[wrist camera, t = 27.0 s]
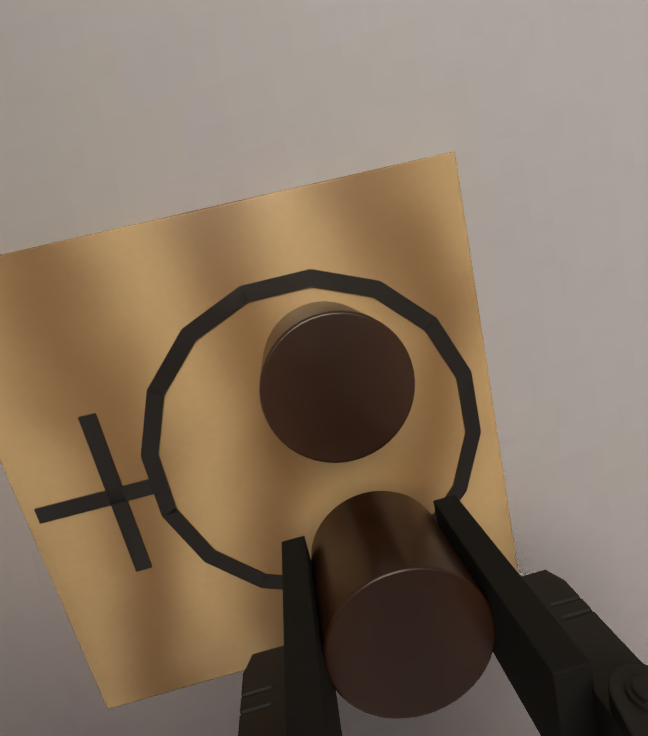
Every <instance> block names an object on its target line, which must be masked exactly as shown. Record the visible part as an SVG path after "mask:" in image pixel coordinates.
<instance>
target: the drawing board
mask: <svg viewBox="0 0 648 736" xmlns="http://www.w3.org/2000/svg"><path fill="white" fill-rule="evenodd" d="M321 301H328V302H336V303H340V304H344V305H346V306H349V307H351V308H353V309H355V310H358V311H360V312H362V313H364V314H366V315H368V316H371V317H373V318H374V319H376V320H378V321H380V322H382V323H383V324H384V325H386V326H387V327H388V328H390V329H391V330H392V331H393V332H394V333H395V334H396V335H397V336H398V338H399V339H400V340H401V341H402V343H403V344H404V346H405V348H406V350H407V351H408V354H409V356H410V358H411V361H412V365H413V369H414V375H415V393H414V400H413V403H412V407H411V410H410V412H409V415H408V417H407V419H406V421H405V423H404V424H403V426H402V428H401V429H400V430H399V432H398V433H397V434H396V435H395V436H394V437H393V438H392V439H391V440H390V442H388V443H387V444H386V445H385V446H383V447H382V448H381V449H379V450H377V451H376V452H374V453H372V454H370V455H368V456H366V457H364V458H361V459H358V460H354V461H349V462H341V463H327V462H321V461H315V460H312V459H309V458H306V457H304V456H302V455H299V454H297V453H296V452H294V451H293V450H291V449H289V448H288V447H287V446H286V445H285V444H283V443H282V442H281V441H280V440H279V439H278V438H277V436H276V435H275V434H274V433H273V431H272V430H271V428H270V427H269V425H268V423H267V421H266V419H265V417H264V414H263V411H262V407H261V403H260V395H259V384H260V374H261V367H262V359H263V353H264V348H265V344H266V342H267V339H268V337H269V335H270V333H271V331H272V330H273V328H274V327H275V325H276V324H277V323H278V322H279V321H280V320H281V319H282V318H283V317H284V316H285V315H286V314H288V313H289V312H291V311H292V310H294V309H296V308H298V307H300V306H302V305H305V304H308V303H313V302H321ZM0 461H1V463H2V466H3V468H4V470H5V472H6V475H7V477H8V479H9V482H10V484H11V486H12V489H13V491H14V493H15V496H16V498H17V500H18V503H19V505H20V507H21V510H22V512H23V514H24V516H25V519H26V521H27V523H28V526H29V528H30V530H31V533H32V535H33V537H34V540H35V542H36V544H37V547H38V549H39V551H40V553H41V556H42V558H43V560H44V563H45V565H46V567H47V570H48V572H49V574H50V577H51V579H52V581H53V584H54V586H55V588H56V591H57V593H58V595H59V597H60V600H61V602H62V604H63V607H64V609H65V611H66V614H67V616H68V618H69V621H70V623H71V625H72V628H73V630H74V632H75V635H76V637H77V639H78V641H79V644H80V646H81V648H82V651H83V653H84V655H85V658H86V660H87V662H88V665H89V667H90V669H91V672H92V674H93V676H94V678H95V681H96V683H97V685H98V688H99V690H100V692H101V695H102V697H103V699H104V702H105V704H106V706H107V708H108V709H110V708H114V707H117V706H121V705H124V704H128V703H131V702H135V701H138V700H142V699H145V698H149V697H152V696H156V695H159V694H163V693H166V692H170V691H173V690H177V689H180V688H184V687H187V686H191V685H194V684H198V683H201V682H205V681H208V680H212V679H215V678H218V677H222V676H225V675H229V674H232V673H236V672H239V671H243V670H245V669H246V667H247V665H248V663H249V661H250V658H251V656H252V654H255V653H259V652H262V651H266V650H269V649H273V648H276V647H280V646H283V645H284V629H283V586H282V542H283V541H286V540H290V539H294V538H297V537H301V536H305V540H306V544H307V547H308V551H309V555H310V558H311V549H312V543H313V539H314V537H315V534H316V532H317V530H318V528H319V526H320V524H321V523H322V521H323V520H324V519H325V517H326V516H327V515H328V514H329V513H330V512H331V511H332V510H333V509H334V508H335V507H337V506H338V505H339V504H341V503H342V502H344V501H345V500H347V499H349V498H351V497H353V496H356V495H359V494H362V493H366V492H371V491H392V492H398V493H401V494H404V495H407V496H409V497H411V498H413V499H415V500H416V501H418V502H420V503H421V504H422V505H423V506H424V507H425V508H426V509H427V510H428V511H429V512H430V513H431V514H432V516H433V518H434V519H435V521H436V522H437V518H436V513H435V508H434V503H433V501H434V500H438V499H441V498H445V497H449V496H452V495H456V497H457V498H458V499H459V500H460V501H461V503H462V504H463V505H464V506H465V508H466V509H467V510H468V511H469V513H470V514H471V515H472V516H473V518H474V519H475V520H476V521H477V523H478V524H479V525H480V526H481V527H482V529H483V530H484V531H485V532H486V534H487V535H488V536H489V537H490V539H491V540H492V541H493V542H494V544H495V545H496V546H497V547H498V549H499V550H500V551H501V552H502V553H503V555H504V556H505V557H506V558H507V560H508V561H509V562H510V563H511V565H512V566H513V567H514V568H515V570H516V571H517V572H518V567H517V561H516V554H515V547H514V541H513V534H512V528H511V521H510V514H509V508H508V501H507V494H506V488H505V481H504V475H503V468H502V461H501V455H500V448H499V441H498V435H497V428H496V422H495V415H494V408H493V402H492V395H491V388H490V382H489V375H488V368H487V362H486V355H485V349H484V342H483V335H482V329H481V322H480V315H479V309H478V302H477V296H476V289H475V282H474V276H473V269H472V262H471V256H470V249H469V243H468V236H467V229H466V223H465V216H464V209H463V203H462V196H461V190H460V183H459V176H458V170H457V163H456V156H455V152H450V153H445V154H441V155H436V156H432V157H428V158H423V159H419V160H414V161H410V162H406V163H401V164H397V165H393V166H388V167H384V168H379V169H375V170H371V171H366V172H362V173H358V174H353V175H349V176H344V177H340V178H336V179H331V180H327V181H322V182H318V183H314V184H309V185H305V186H301V187H296V188H292V189H287V190H283V191H279V192H274V193H270V194H266V195H261V196H257V197H252V198H248V199H244V200H239V201H235V202H230V203H226V204H222V205H217V206H213V207H209V208H204V209H200V210H195V211H191V212H187V213H182V214H178V215H173V216H169V217H165V218H160V219H156V220H152V221H147V222H143V223H138V224H134V225H130V226H125V227H121V228H117V229H112V230H108V231H103V232H99V233H95V234H90V235H86V236H81V237H77V238H73V239H68V240H64V241H60V242H55V243H51V244H46V245H42V246H38V247H33V248H29V249H24V250H20V251H16V252H11V253H7V254H3V255H0Z"/></svg>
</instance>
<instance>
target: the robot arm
mask: <svg viewBox="0 0 648 736" xmlns="http://www.w3.org/2000/svg"><path fill="white" fill-rule="evenodd" d="M433 503H434V508H435V513H436V518H437V524H438V525H439V527H440V528H441V530H442V531H443V533H444V534H445V536H446V538H447V539H448V541H449V542H450V544H451V545H452V547H453V548H454V550H455V551H456V553H457V554H458V556H459V558H460V559H461V561H462V562H463V564H464V565H465V567H466V568H467V570H468V571H469V573H470V574H471V576H472V578H473V579H474V581H475V582H476V584H477V585H478V587H479V588H480V590H481V591H482V593H483V595H484V596H485V598H486V599H487V601H488V603H489V605H490V608H491V612H492V617H493V623H494V629H495V643H494V648H493V653H494V654H495V656H496V658H497V660H498V661H499V663H500V665H501V667H502V668H503V670H504V672H505V674H506V675H507V677H508V679H509V681H510V682H511V684H512V686H513V688H514V689H515V691H516V693H517V695H518V696H519V698H520V700H521V702H522V703H523V705H524V707H525V709H526V710H527V712H528V714H529V715H530V717H531V719H532V721H533V722H534V724H535V726H536V728H537V729H538V731H539V733H540V735H541V736H648V665H645V664H643V663H642V662H641V661H640V660H639V659H638V658H637V657H636V656H635V655H634V654H633V653H632V652H631V651H630V650H629V648H628V647H627V646H626V645H625V644H624V643H623V642H622V641H621V640H620V639H619V638H618V637H617V636H616V635H615V634H614V633H613V631H612V630H611V629H610V628H609V627H608V626H607V625H606V624H605V623H604V622H603V621H602V620H601V619H600V618H599V617H598V615H597V614H596V613H595V612H592V610H591V608H590V607H589V606H588V605H587V604H586V603H585V602H584V601H583V599H580V597H579V595H578V594H577V593H576V592H575V591H574V590H573V589H572V588H571V587H570V586H569V585H568V584H567V582H566V581H564V580H563V579H561V578H559V577H557V576H556V575H554V574H552V573H550V572H548V571H547V570H543V571H539V572H536V573H532V574H529V575H525V576H522V577H521V576H520V575H519V573H518V572H517V571H516V570H515V568H514V567H513V566H512V565H511V563H510V562H509V561H508V560H507V558H506V557H505V556H504V555H503V553H502V552H501V551H500V550H499V549H498V547H497V546H496V545H495V544H494V542H493V541H492V540H491V539H490V537H489V536H488V535H487V534H486V532H485V531H484V530H483V529H482V527H481V526H480V525H479V524H478V523H477V521H476V520H475V519H474V518H473V516H472V515H471V514H470V513H469V511H468V510H467V509H466V508H465V506H464V505H463V504H462V503H461V501H460V500H459V499H458V498H457V497H456V495H452V496H449V497H445V498H441V499H438V500H434V501H433ZM282 586H283V629H284V645H283V646H280V647H276V648H273V649H269V650H266V651H262V652H259V653H255V654H252V656H251V658H250V661H249V663H248V665H247V667H246V669H245V671H244V673H243V682H242V698H241V707H240V713H241V716H240V720H239V732H238V736H342V731H341V724H340V717H339V710H338V703H337V696H336V689H335V688H334V686H333V685H332V683H331V681H330V679H329V676H328V672H327V669H326V665H325V661H324V657H323V650H322V642H321V634H320V626H319V618H318V610H317V602H316V594H315V586H314V578H313V570H312V562H311V558H310V555H309V551H308V547H307V544H306V540H305V536H301V537H297V538H294V539H290V540H286V541H283V542H282Z"/></svg>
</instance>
